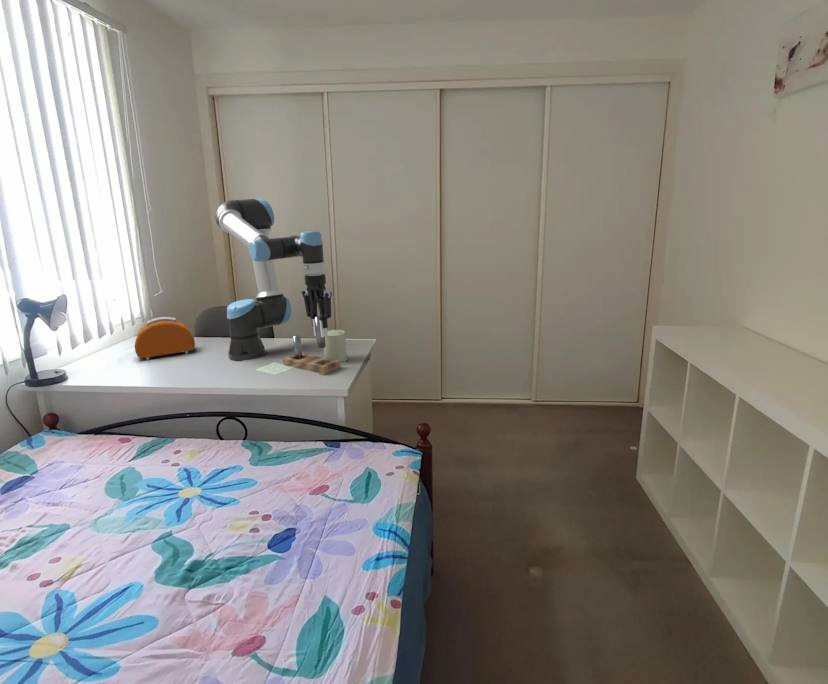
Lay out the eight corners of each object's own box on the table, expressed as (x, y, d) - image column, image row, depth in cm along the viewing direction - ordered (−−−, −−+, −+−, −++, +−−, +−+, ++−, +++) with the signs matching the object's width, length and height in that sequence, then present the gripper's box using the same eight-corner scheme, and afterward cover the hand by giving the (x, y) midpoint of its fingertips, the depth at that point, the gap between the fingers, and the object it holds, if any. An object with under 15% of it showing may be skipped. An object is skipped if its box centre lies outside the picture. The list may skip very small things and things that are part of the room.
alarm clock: (195, 347, 237) (189, 312, 232) (196, 352, 229) (190, 316, 224) (138, 356, 228) (130, 319, 223) (137, 362, 220) (129, 323, 215)
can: (342, 363, 207) (340, 334, 203) (321, 363, 209) (318, 334, 205) (350, 356, 215) (348, 328, 212) (329, 356, 217) (326, 328, 214)
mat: (254, 370, 203) (254, 369, 203) (274, 363, 211) (274, 362, 211) (275, 375, 196) (275, 374, 196) (295, 367, 204) (294, 367, 204)
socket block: (283, 366, 207) (282, 358, 206) (300, 359, 214) (299, 352, 213) (324, 374, 195) (323, 367, 194) (340, 367, 202) (339, 360, 201)
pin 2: (316, 347, 198) (313, 316, 194) (321, 345, 200) (318, 315, 197) (322, 348, 196) (318, 317, 193) (327, 346, 198) (324, 315, 195)
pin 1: (294, 364, 208) (291, 336, 204) (299, 362, 210) (296, 334, 207) (299, 366, 206) (296, 337, 203) (305, 363, 208) (302, 335, 205)
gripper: (291, 274, 192) (298, 335, 198) (323, 276, 183) (329, 340, 190) (306, 271, 198) (312, 331, 204) (337, 273, 189) (343, 335, 196)
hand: (320, 335), depth 197 cm, fingers closed on pin 2, 3 cm apart
